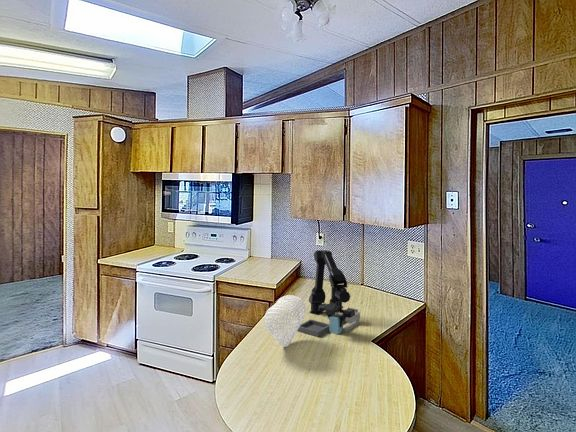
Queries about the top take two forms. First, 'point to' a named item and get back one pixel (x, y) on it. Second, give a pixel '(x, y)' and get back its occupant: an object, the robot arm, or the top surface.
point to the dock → (352, 320)
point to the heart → (299, 320)
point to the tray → (314, 328)
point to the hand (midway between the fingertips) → (336, 326)
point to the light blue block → (335, 324)
